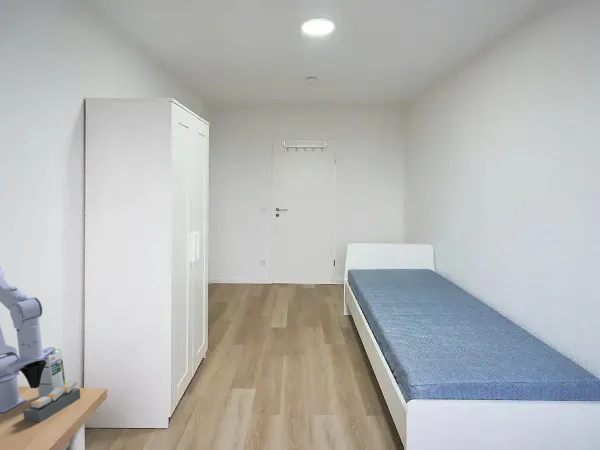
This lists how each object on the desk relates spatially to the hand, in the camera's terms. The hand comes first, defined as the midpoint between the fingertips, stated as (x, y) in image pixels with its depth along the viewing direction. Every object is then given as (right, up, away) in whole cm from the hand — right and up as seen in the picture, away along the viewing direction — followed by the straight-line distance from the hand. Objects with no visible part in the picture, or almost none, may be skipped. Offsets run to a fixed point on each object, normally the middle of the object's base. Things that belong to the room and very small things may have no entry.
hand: (34, 387), depth 130 cm
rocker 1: (+1, -5, +2) cm, 5 cm away
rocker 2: (+2, -4, +6) cm, 8 cm away
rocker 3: (+4, -4, +11) cm, 12 cm away
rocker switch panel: (+1, -9, +7) cm, 12 cm away
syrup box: (-4, -9, +17) cm, 19 cm away
